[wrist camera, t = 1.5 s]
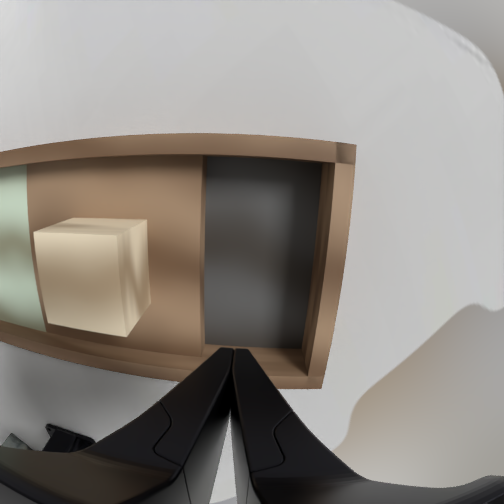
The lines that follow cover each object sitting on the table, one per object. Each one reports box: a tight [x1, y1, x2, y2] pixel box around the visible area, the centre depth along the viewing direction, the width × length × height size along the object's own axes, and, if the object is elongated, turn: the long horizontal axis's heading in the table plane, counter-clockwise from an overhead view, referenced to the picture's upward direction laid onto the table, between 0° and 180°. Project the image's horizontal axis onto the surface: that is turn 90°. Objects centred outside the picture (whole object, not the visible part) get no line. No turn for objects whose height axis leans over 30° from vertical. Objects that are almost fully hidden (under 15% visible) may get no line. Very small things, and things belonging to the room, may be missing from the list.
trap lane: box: [0, 133, 356, 389], centre depth 17 cm, size 14×35×4 cm, turn 87°
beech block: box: [33, 218, 151, 337], centre depth 15 cm, size 5×5×4 cm
